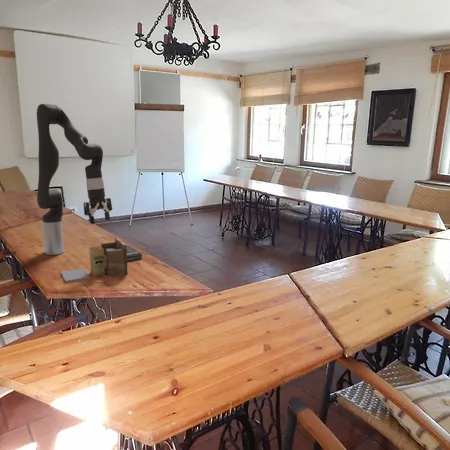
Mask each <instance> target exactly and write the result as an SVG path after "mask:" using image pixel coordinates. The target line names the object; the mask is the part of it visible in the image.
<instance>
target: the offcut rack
mask: <svg viewBox="0 0 450 450" xmlns="http://www.w3.org/2000/svg"><path fill="white" fill-rule="evenodd" d="M127 245H128V244H126V243H125V242H124V241H122V239H120V238H119V237H115V238H114V241H110V242H103V243H102V242H101V243H100V246H101V247H102V248H103V249H104V261H105V274H107V276H108V277H110V278H112V277H118V276H124V275H128V261H127Z"/></svg>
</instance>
